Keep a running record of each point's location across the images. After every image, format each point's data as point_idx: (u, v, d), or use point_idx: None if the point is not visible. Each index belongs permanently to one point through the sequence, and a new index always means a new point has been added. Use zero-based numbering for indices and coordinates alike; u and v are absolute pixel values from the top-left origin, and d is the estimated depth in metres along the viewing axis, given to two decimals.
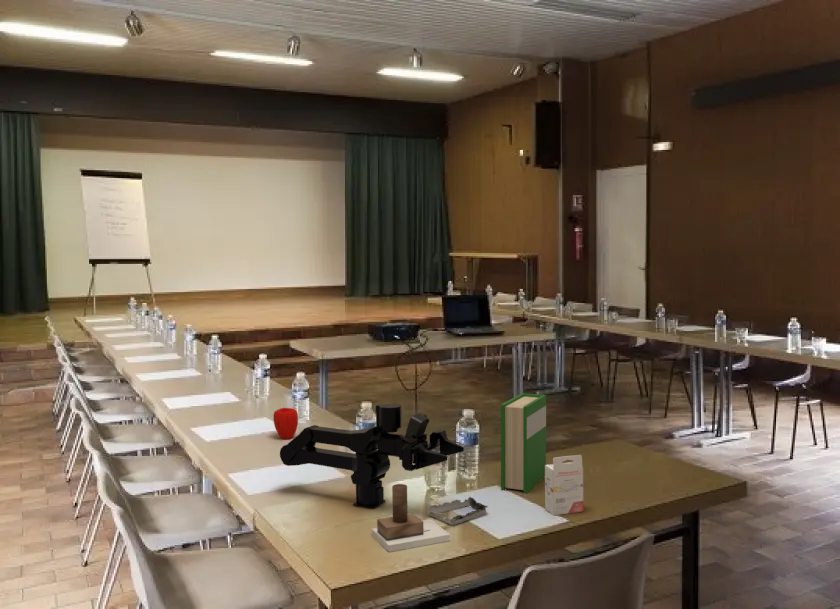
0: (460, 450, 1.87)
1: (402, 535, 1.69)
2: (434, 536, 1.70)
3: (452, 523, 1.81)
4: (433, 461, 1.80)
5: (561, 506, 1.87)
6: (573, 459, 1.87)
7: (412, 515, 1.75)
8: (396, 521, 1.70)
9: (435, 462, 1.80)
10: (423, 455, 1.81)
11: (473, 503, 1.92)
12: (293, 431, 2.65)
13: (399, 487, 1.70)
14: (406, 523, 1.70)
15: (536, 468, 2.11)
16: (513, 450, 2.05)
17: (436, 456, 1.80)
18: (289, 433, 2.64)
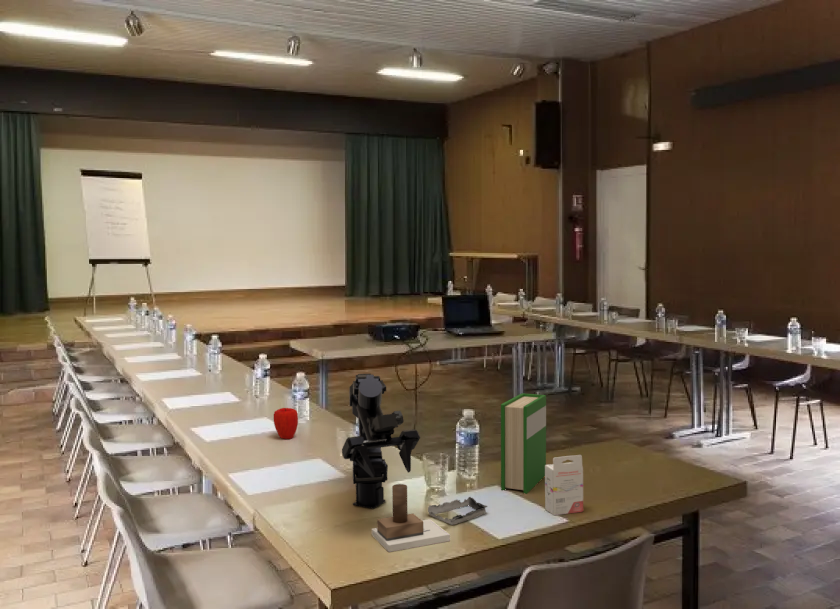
0: (407, 469, 1.79)
1: (402, 535, 1.69)
2: (434, 536, 1.70)
3: (452, 523, 1.81)
4: (364, 468, 1.76)
5: (561, 506, 1.87)
6: (573, 459, 1.87)
7: (412, 515, 1.75)
8: (396, 521, 1.70)
9: (365, 470, 1.76)
10: None
11: (473, 503, 1.93)
12: (293, 431, 2.65)
13: (399, 487, 1.70)
14: (406, 523, 1.70)
15: (536, 468, 2.11)
16: (513, 450, 2.05)
17: (367, 467, 1.75)
18: (289, 433, 2.64)
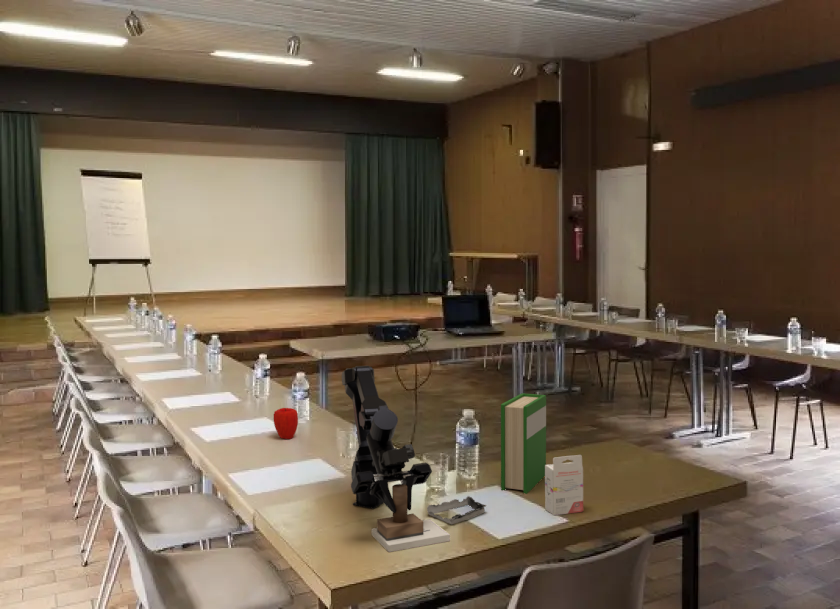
0: (407, 507, 1.72)
1: (402, 535, 1.69)
2: (434, 536, 1.70)
3: (451, 522, 1.81)
4: (385, 502, 1.72)
5: (561, 506, 1.87)
6: (573, 459, 1.87)
7: (412, 515, 1.75)
8: (396, 521, 1.70)
9: (386, 504, 1.71)
10: None
11: (472, 503, 1.93)
12: (293, 431, 2.65)
13: (399, 487, 1.70)
14: (406, 523, 1.70)
15: (536, 468, 2.11)
16: (513, 450, 2.05)
17: (388, 502, 1.70)
18: (289, 433, 2.64)
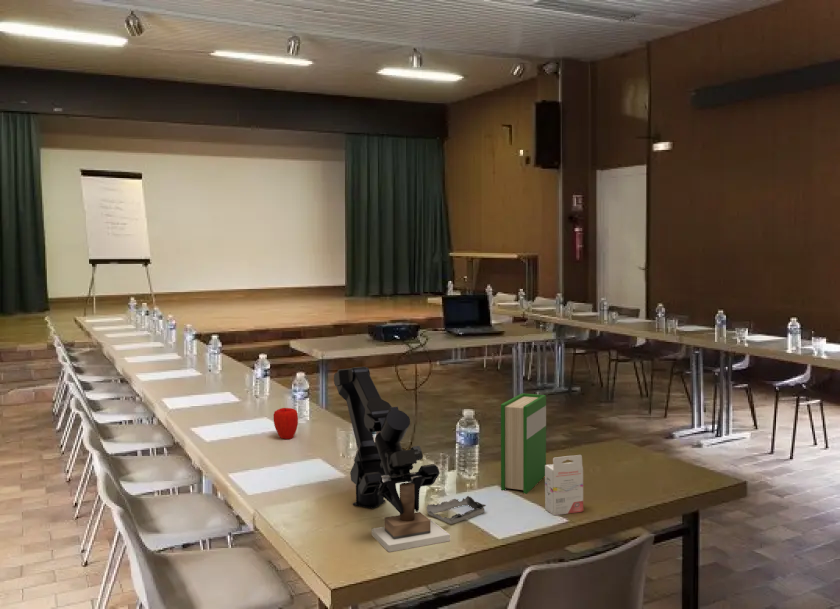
0: (415, 508, 1.72)
1: (409, 534, 1.70)
2: (434, 536, 1.70)
3: (451, 522, 1.82)
4: (393, 503, 1.72)
5: (561, 507, 1.87)
6: (573, 459, 1.87)
7: (419, 514, 1.76)
8: (403, 519, 1.71)
9: (394, 506, 1.72)
10: None
11: (471, 502, 1.93)
12: (293, 431, 2.65)
13: (406, 486, 1.71)
14: (413, 521, 1.71)
15: (536, 468, 2.11)
16: (513, 450, 2.05)
17: (396, 503, 1.71)
18: (289, 433, 2.64)
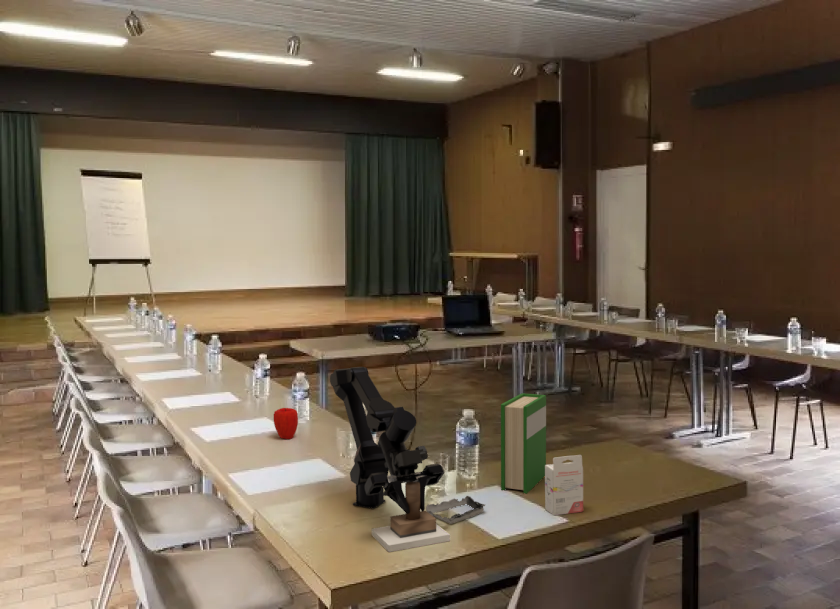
0: (421, 508, 1.73)
1: (415, 532, 1.71)
2: (434, 536, 1.70)
3: (450, 522, 1.82)
4: (398, 503, 1.73)
5: (561, 507, 1.87)
6: (573, 459, 1.87)
7: (424, 512, 1.77)
8: (409, 518, 1.72)
9: (399, 505, 1.73)
10: None
11: (471, 502, 1.94)
12: (293, 431, 2.65)
13: (412, 484, 1.72)
14: (419, 520, 1.72)
15: (536, 468, 2.11)
16: (513, 450, 2.05)
17: (402, 503, 1.72)
18: (289, 433, 2.64)
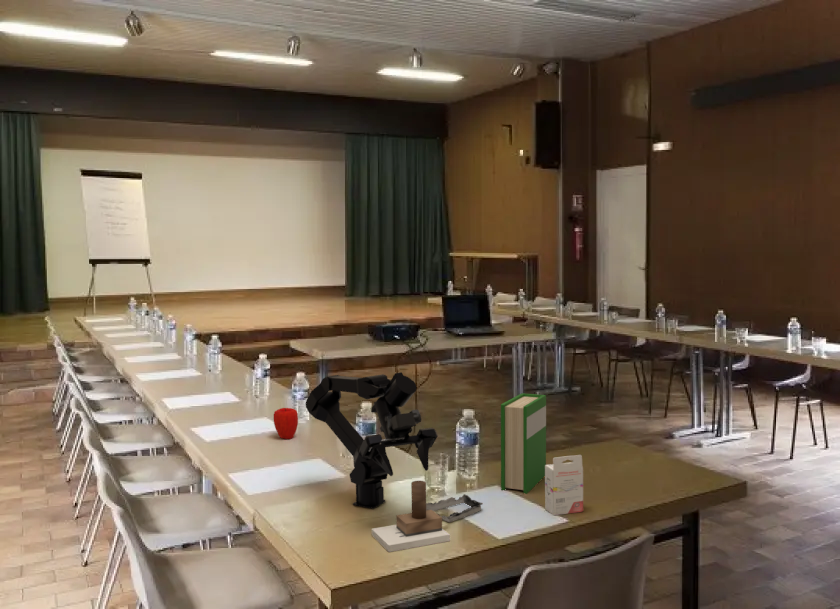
0: (424, 468, 1.81)
1: (421, 531, 1.71)
2: (434, 536, 1.70)
3: (449, 520, 1.83)
4: (382, 466, 1.78)
5: (561, 507, 1.87)
6: (573, 459, 1.87)
7: (430, 511, 1.77)
8: (415, 517, 1.73)
9: (383, 468, 1.78)
10: None
11: (468, 501, 1.95)
12: (293, 431, 2.65)
13: (418, 484, 1.73)
14: (425, 519, 1.72)
15: (536, 468, 2.11)
16: (513, 450, 2.05)
17: (386, 466, 1.77)
18: (289, 433, 2.64)
